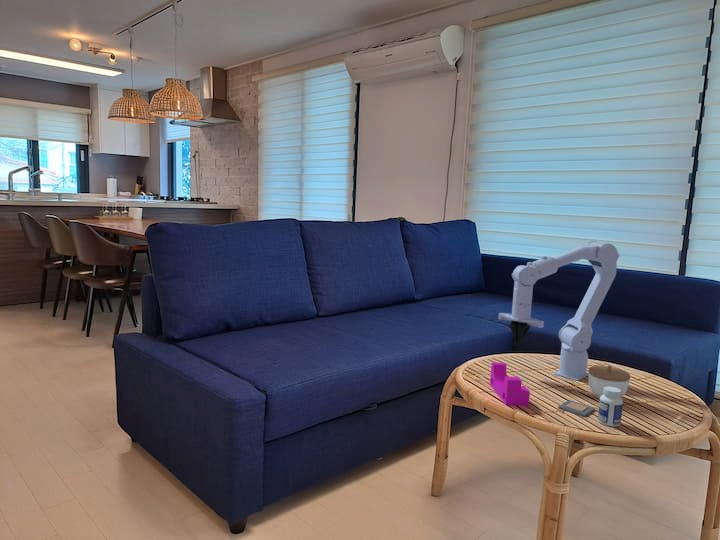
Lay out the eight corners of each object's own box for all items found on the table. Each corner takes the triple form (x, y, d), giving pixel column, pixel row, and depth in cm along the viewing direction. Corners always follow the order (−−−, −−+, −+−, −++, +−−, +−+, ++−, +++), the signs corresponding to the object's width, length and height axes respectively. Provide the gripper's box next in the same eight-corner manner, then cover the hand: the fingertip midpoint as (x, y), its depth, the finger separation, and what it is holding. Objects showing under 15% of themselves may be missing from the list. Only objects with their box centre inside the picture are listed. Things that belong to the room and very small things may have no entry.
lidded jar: (577, 392, 149) (581, 361, 148) (605, 389, 153) (608, 359, 152) (607, 406, 139) (611, 373, 138) (636, 402, 143) (639, 370, 142)
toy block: (528, 407, 137) (530, 380, 136) (505, 406, 137) (507, 380, 136) (510, 387, 152) (512, 362, 151) (489, 386, 151) (491, 362, 150)
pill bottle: (618, 420, 130) (622, 387, 129) (622, 428, 126) (626, 394, 124) (596, 416, 132) (600, 384, 131) (598, 424, 127) (602, 390, 126)
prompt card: (568, 402, 141) (569, 399, 141) (594, 410, 137) (594, 407, 136) (558, 408, 136) (558, 405, 136) (584, 417, 132) (584, 414, 131)
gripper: (495, 301, 163) (491, 342, 165) (538, 309, 153) (534, 352, 155) (506, 298, 168) (502, 338, 170) (548, 306, 158) (544, 348, 160)
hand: (518, 345), depth 162 cm, fingers closed
